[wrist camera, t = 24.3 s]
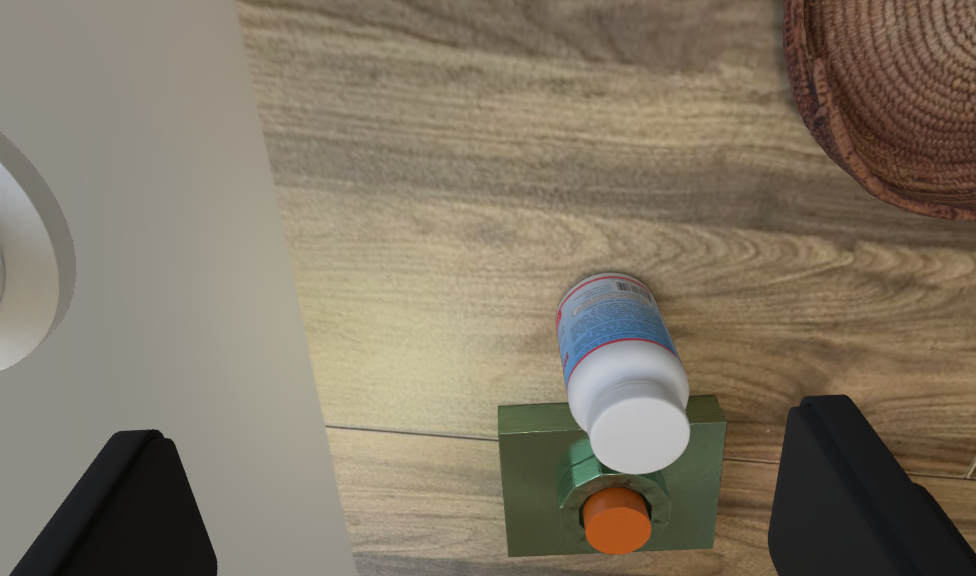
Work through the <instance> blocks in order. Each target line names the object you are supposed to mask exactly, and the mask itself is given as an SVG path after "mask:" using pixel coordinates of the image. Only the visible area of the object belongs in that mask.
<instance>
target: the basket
mask: <svg viewBox="0 0 976 576" xmlns="http://www.w3.org/2000/svg"><path fill="white" fill-rule="evenodd" d="M783 47H784V53H785V60H786V66H787V72H788V76H789V79H790V83H791V87H792V91H793V95H794V99H795V102H796V105H797V108H798V110H799V112H800V114H801V116H802V118H803V121H804V123H805V125H806V127H807V128H808V129H809V130H810V132H811V135H812V136H814V137H815V139H816V140H817V142H818V143H819V145H820V146H821V147H822V148H823V150H824V151H825V152H826V153H827V155H828V156H829V157H830V158H831V159H832V160H833V161H834V162H836V163H837V164H838V165H839V166H840V167H841V168H842V169H844V170H845V171H846V172H847V173H848V174H849V175H851V176H852V177H853V178H854V179H855V180H856V181H857V182H858V183H859V184H860V185H861V186H862V187H863V188H864V189H865V190H866V191H867V192H868V193H869V194H871V195H872V196H874V197H876V198H878V199H879V200H882V201H884V202H886V203H889V204H891V205H893V206H896V207H898V208H900V209H902V210H905V211H908V212H911V213H915V214H919V215H923V216H929V217H934V218H941V219H949V220H971V221H976V0H784V21H783Z"/></svg>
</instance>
